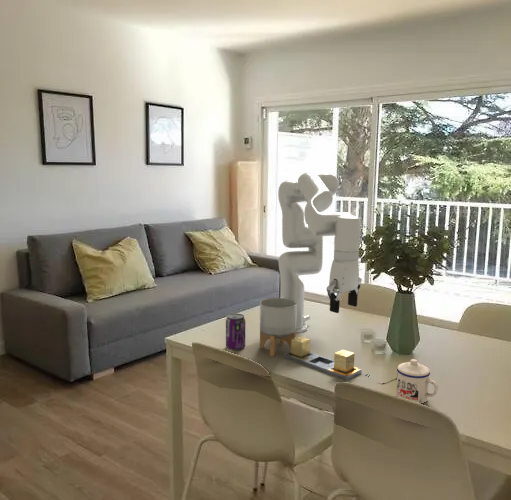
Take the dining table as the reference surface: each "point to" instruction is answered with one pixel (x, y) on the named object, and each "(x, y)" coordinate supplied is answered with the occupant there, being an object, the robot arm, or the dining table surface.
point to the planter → (277, 322)
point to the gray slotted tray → (322, 365)
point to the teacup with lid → (414, 382)
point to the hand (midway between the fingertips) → (343, 308)
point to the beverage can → (235, 331)
